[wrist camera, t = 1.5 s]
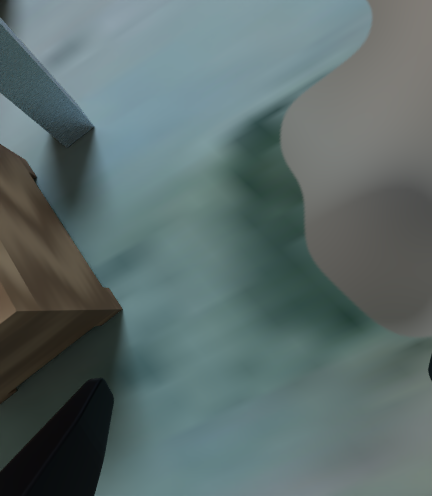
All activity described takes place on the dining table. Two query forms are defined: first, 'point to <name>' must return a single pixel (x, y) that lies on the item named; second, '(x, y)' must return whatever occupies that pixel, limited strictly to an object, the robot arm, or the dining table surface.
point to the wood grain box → (39, 280)
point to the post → (38, 91)
